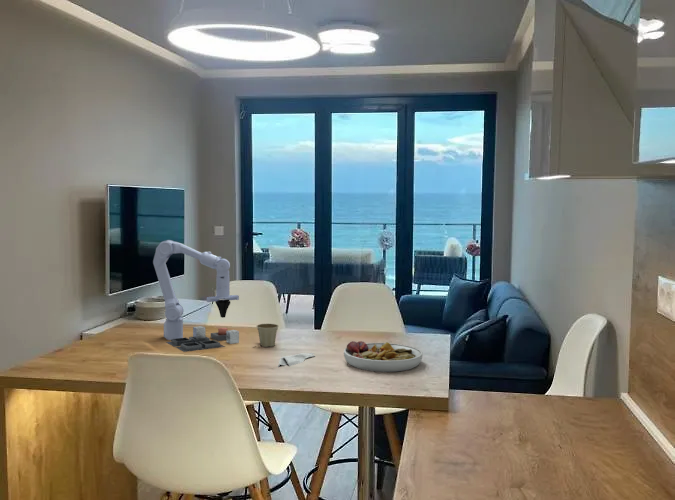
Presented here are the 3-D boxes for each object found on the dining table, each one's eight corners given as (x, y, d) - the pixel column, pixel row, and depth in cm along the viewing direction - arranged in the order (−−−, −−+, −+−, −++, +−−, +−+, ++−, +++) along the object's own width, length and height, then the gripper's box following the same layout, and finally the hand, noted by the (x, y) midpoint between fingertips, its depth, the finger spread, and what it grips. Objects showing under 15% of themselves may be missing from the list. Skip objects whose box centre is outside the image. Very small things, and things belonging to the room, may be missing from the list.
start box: (210, 339, 279) (210, 333, 279) (227, 337, 283) (227, 331, 283) (218, 343, 272) (218, 336, 272) (235, 341, 277) (235, 334, 277)
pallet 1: (165, 344, 268) (165, 338, 268) (205, 339, 278) (205, 334, 278) (174, 349, 260) (174, 343, 260) (214, 344, 270) (214, 338, 270)
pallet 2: (175, 349, 259) (175, 343, 259) (215, 344, 269) (215, 338, 269) (184, 354, 251) (184, 348, 251) (225, 349, 261) (225, 343, 261)
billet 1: (193, 340, 272) (193, 326, 271) (201, 339, 274) (201, 326, 274) (196, 342, 269) (196, 328, 268) (205, 341, 271) (205, 327, 270)
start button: (216, 333, 278) (216, 328, 278) (225, 333, 280) (225, 327, 280) (220, 335, 275) (220, 329, 275) (228, 334, 277) (228, 328, 277)
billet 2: (226, 344, 270) (226, 330, 270) (234, 343, 272) (234, 329, 272) (230, 346, 267) (230, 332, 266) (238, 345, 269) (239, 331, 269)
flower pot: (277, 348, 264) (277, 327, 264) (254, 347, 264) (254, 327, 264) (279, 343, 274) (279, 323, 273) (258, 343, 274) (258, 323, 273)
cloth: (305, 353, 259) (305, 347, 259) (330, 358, 250) (330, 352, 250) (257, 364, 240) (257, 358, 239) (283, 370, 231) (283, 364, 231)
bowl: (427, 358, 252) (427, 338, 251) (415, 377, 223) (416, 355, 222) (354, 352, 260) (354, 333, 259) (334, 370, 231) (334, 349, 230)
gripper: (211, 288, 269) (211, 320, 270) (241, 286, 277) (241, 317, 278) (204, 286, 274) (204, 317, 275) (235, 284, 283) (234, 314, 284)
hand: (222, 317), depth 277 cm, fingers closed
